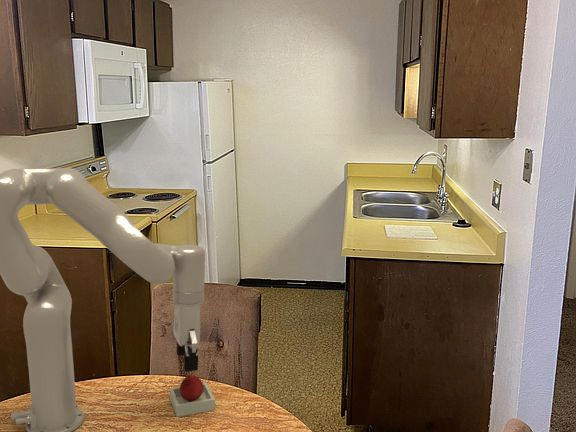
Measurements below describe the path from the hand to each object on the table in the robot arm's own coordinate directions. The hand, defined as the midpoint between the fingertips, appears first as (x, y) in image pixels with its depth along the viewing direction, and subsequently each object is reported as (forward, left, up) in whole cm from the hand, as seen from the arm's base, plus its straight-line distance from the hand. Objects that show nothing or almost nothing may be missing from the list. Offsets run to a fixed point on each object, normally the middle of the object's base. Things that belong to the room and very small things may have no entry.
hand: (187, 362), depth 140 cm
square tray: (+1, 0, -11) cm, 11 cm away
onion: (+1, 0, -11) cm, 11 cm away
